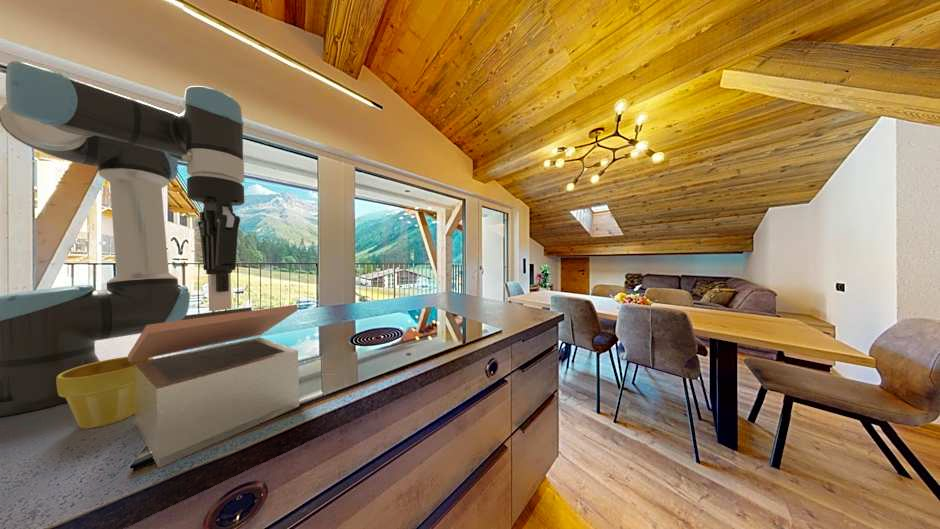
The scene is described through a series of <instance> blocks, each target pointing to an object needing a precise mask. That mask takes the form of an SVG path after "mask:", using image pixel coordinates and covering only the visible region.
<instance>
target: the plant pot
mask: <svg viewBox="0 0 940 529" xmlns="http://www.w3.org/2000/svg"><path fill="white" fill-rule="evenodd" d="M152 359H154V357H150V358H146V359H141V360H136V361H131V362H129V361H128V356H122V357H117V358H115V357H114V358H110V359H103V360H100V361H99V362H95V363H90V364H86V365H83V366H79V367H76V368H73V369H70V370H67V371H65V372H63V373H61V374H59V375H58V376H57V378H56V383H57V392H58V395H59V396H60V397H65V398H66V400H67V402H66V403H67V404H68V406H69V408H70V410H71V413H72V415H73V416H74V419H75V420H76V423H77V426H78V427H79V428H80V429H86V430H87V429H88V428H89V429H94V428H95V427H96V428H101V427H104V426H108V425H111V424H113V423H116V422H120V421H122V420H123V421H124V420H125V419H128V418H130V417H131V416H134V415H135V387H134V363H138V362H142V361H147V360H152ZM96 428H95V429H96Z"/></svg>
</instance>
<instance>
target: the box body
mask: <svg viewBox="0 0 940 529" xmlns="http://www.w3.org/2000/svg"><path fill="white" fill-rule="evenodd" d="M299 371H300V370H299V350H298V349H295V348H292V347H289V346H286V345H284V344H283V345H282V344H280V343H278V342H274V341H272V340H268V339H266V338H263V337H259V336H258V337H257V336H256V337H254V338H253V337H252V338H249V339H242V340H239V341H238V340H237V341H235V342H233V341H232V342H230V343H224V344H220V345H215V346H211V347H210V346H208V347H206V348H200V349H196V350H191V351H186V352H181V353H177V354H172V355H167V356H163V357H158V358H153V359H152V360H147V361H142V362H138V363H134V387H135V414H134V415H135V416H134V417H135V427H136V430H137V431H138V432H139V435H140V436H141V438H142V440H143V442H144V444H145V446H146V447H148V448H147V449H148V451H149V450H150V451H151V452H152V455H153V457H152V459H153V460H154V462H155V464H156V465H157V468H158V469H159V468H162V467H164V466H166V465H168V464H171V463H173V462H176V461H178V460H180V459H183V458H185V457H187V456H189V455H192V454H193V453H196V452H198V451H201V450H203V449H205V448H208V447H209V446H213V445H215V444H216V443H219V442H221V441H224V440H226V439H228V438H230V437H233V436H234V435H237V434H240V433H241V432H243V431H247V430H249V429H250V428H253V427H255V426H257V425H261V423H264V422H266V421H269V420H271V419H274V418H276V417H278V416H281V415H283V414H285V413H287V412H291V411H292V410H294V409H296V408H298V407H300V384H299V383H300V381H299V378H300V377H299V376H300V375H299ZM150 451H149V452H150ZM152 455H151V456H152Z"/></svg>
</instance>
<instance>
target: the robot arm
mask: <svg viewBox="0 0 940 529" xmlns="http://www.w3.org/2000/svg"><path fill="white" fill-rule="evenodd" d="M5 98H6V99H5V101H6V104H4V105H3V106H2V107H1V109H0V125H1V126H2V128H3V129H4V130H5V132H7V133H8V134H9V135H10V136H12V137H13V138H14V139H15V140H17V141H19V142H20V143H22V144H23V145H26V146H27V147H30V148H32V149H34V150H36V151H39V152H42V153H43V154H46V155H49V156H52V157H54V158H57V159H61V160H64V161H69V162H72V163H77V164H82V165H87V166H93V167H97V169H98V175H99V176H100V177H101V178H102V179H103V180H106V181H107V182H108V183H109V190H110V192H109V193H110V203H111V216H112V217H111V218H112V231H113V245H114V259H115V260H114V261H115V273H116V274H115V276H113V277H112V278H110V279H109V280H108V281H106V289H100V290H99V289H97V290H95V287H93V285H92V284H77V285H70V286H66V285H65V286H59V287H50V288H41V289H35V290H34V289H33V290H25V291H20V292H19V291H18V292H14V293H7V294H4V295H0V417H6V416H13V415H17V414H22V413H27V412H32V411H33V412H34V411H38V410H42V409H45V408H49V407H53V406H56V405H61V404H65V403H68V402H67V400H66V398H65V397H60V396H59V395H58V392H57V383H56V378H57V376H58V375H59V374H61V373H63V372H65V371H67V370H70V369H73V368H76V367H79V366H83V365H86V364H90V363H95V362H99V361H101V360H100V359H99V357H98V356H97V354H96V351H95V349H96V348H95V345H96V341H103V340H108V339H115V338H123V337H127V336H128V337H129V336H135V335H139V334H140V335H141V333H142V332H143V330H144V329H145V327H146V325H150V324H157V323H164V322H172V321H179V320H182V319H183V318H184V316H185V315H188V312H189V308H190V300H191V298H190V291H189V288H188V287H187V286H186V285H184V284H179V283H178V282H179V279H178V277H176V276H174V275H173V274H171V273H170V271H169V260H168V248H167V246H168V245H167V235H166V226H165V225H166V223H165V213H164V211H165V209H164V201H163V200H164V198H163V188H165V187H166V186H168V185H169V184H170V181H172V180H175V179H176V178H177V176H178V172H179V169H178V167H179V162H182V163H185V164H186V163H187V164H186V172H187V175H188V176H189V177H188V178H187V179H186V184H187V185H186V192H187V193H186V195H187V197H188V199H190V200H191V201H194V202H197V203H201V204H203V210H202V211H200V212H199V220H198V221H197V226H198V230H199V236H200V245H201V254H202V263H203V264H202V266H203V267H202V268H203V271H205V273H206V275H207V278H208V279H207V283H208V285H207V286H208V287H207V288H208V289H207V290H208V311H210V312H217V311H225V310H232V288H231V286H232V281H231V279H232V278H231V274H232V272H233V271H235V270H236V269H237V268H236V267H237V265H236V262H237V250H238V249H237V248H238V247H237V246H238V236H239V235H238V233H239V225H240V222H241V217H240V216H239V215H236V214H235V213H234V209H233V207H236V206H242V205H244V204H245V186H244V185H243V184H242V183H244V182H245V163H244V162H245V161H244V136H243V135H244V131H243V130H244V129H243V125H244V122H243V114H242V106H241V105H240V104H239V102H238V101H237V100H236V99H235V98H234V97H232V96H230V95H229V94H227V93H225V92H222V91H220V90H218V89H215V88H211V87H207V86H203V85H202V86H201V85H191V86H188V87H186V88H185V90H184V99H183V100H182V103H183V104H184V111H183V112H181V113H180V114H178V113H176V112H173V111H169V110H167V109H163V108H160V107H157V106H154V105H152V104H148V103H146V102H144V101H141V100H137V99H134V98H131V97H127V96H124V95H121V94H119V93H116V92H113V91H110V90H109V89H108V90H107V89H104V88H102V87H98V86H95V85H93V84H90V83H88V82H84V81H82V80H78V79H75V78H73V77H69V76H67V75H65V74H62V73H61V72H59V71H55V70H51V69H47V68H43V67H40V66H36V65H33V64H30V63H27V62H23V61H20V60H19V61H18V60H15V61H14V60H13V61H10V62H8V64H7V66H6V72H5Z"/></svg>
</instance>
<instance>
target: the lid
mask: <svg viewBox="0 0 940 529" xmlns="http://www.w3.org/2000/svg"><path fill="white" fill-rule="evenodd" d="M297 311H298V306H297V304H292V305H285V306H284V305H283V306H278V307H269V308H261V309H256V310H255V309H254V310H252V307H251V306H249V307H243V308H242V307H241V308H235V309H233V308H232V309H225V310H216V311H210V312H203V313H195V314H187V315H185V316H184V318H183V319H182V320H179V321H172V322H164V323H157V324H150V325H146V327H145V329H144V330H143V332H142V333H141V334H140V335H139V337H138V338H137V339H136V342H135V343H134V344H133V346H132V348H131V350H130V351H129V353H128V354H127V357H128V361H129V362H131V361H136V360H141V359H146V358H150V357H153V358H154V357H158V356H165V355H169V354H174V353H178V352H179V353H180V352H184V351H189V350H194V349H198V348H200V349H201V348H203V347H210V346H213V345H218V344H223V343H224V344H225V343H227V342H233V341H238V340H239V341H240V340H245V339H247V338H249V339H250V338H253V337H254V338H255V337H257V336H258V337H259V336H262V335H263V334H265V333H266V332H268V331H269V330H270V329H272V328H273V327H275V326H277V325H278V324H280V323H281V322H283V321H284V320H286V319H287V318H288V317H290V316H291V315H293V314H294V313H296V312H297Z"/></svg>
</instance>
